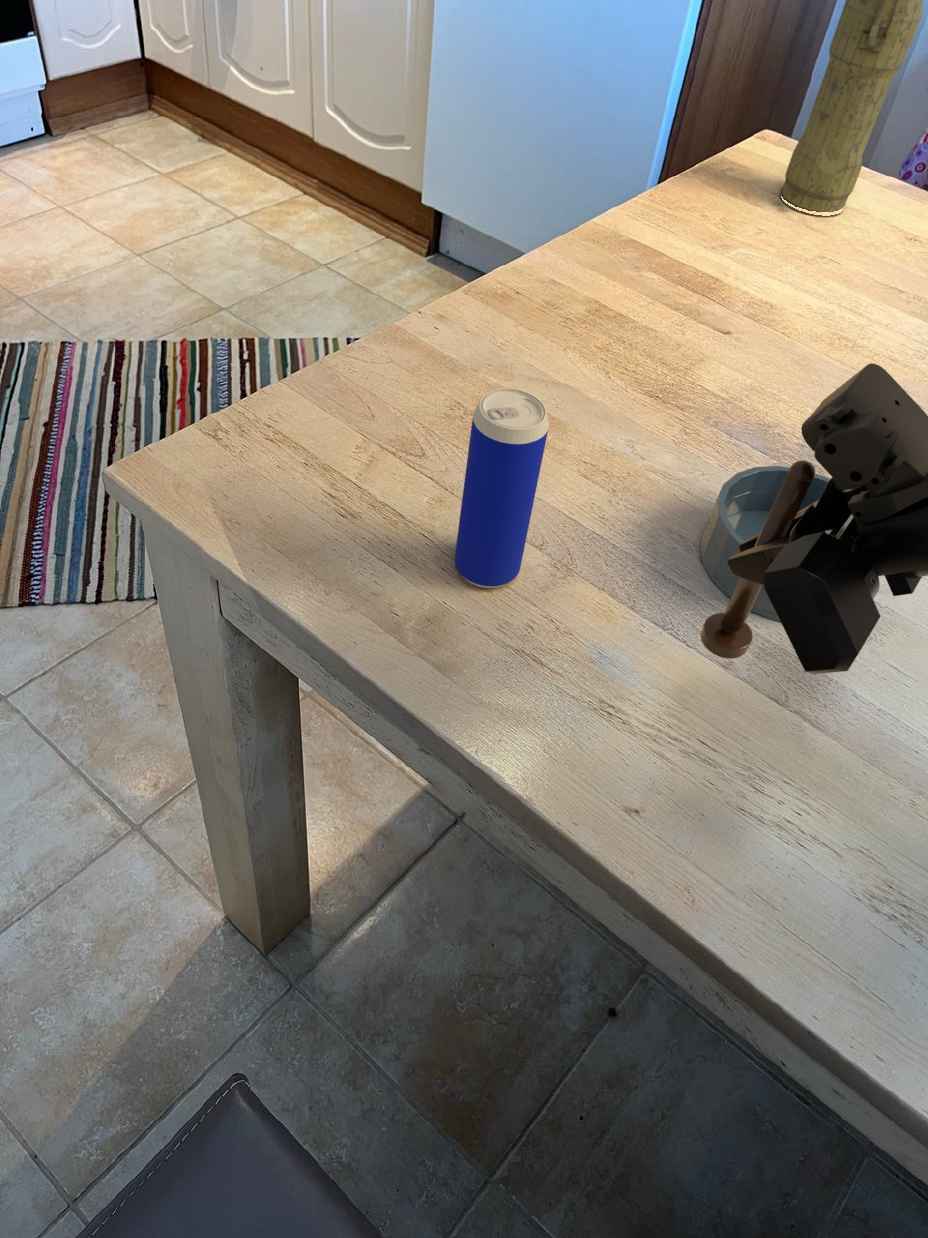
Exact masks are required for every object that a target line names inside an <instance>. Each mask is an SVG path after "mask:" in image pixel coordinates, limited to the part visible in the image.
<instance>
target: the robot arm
mask: <svg viewBox="0 0 928 1238" xmlns="http://www.w3.org/2000/svg"><path fill="white" fill-rule="evenodd" d="M800 430H801V431H800V432H801V436H802V439H803V440H804V442H805V443H806V445H807V446H808V447H809V448H810V449H811V450H812V452H813V453H814V454H813V455H814V459H815V461H816V462H817V463H818V464H819V465H820V466H821V467H822V468H823V469H824V470H825V471H826V472H827V473H828V475H830V476H831V477H830V478H829V479H830V480H829V482H828V483H827V485H826V487H825V489H824V491H823V493H822V495H821V497H820V499H819V500H818V501H816V502H814V503H813V504H811V505H809V506H807V507H806V508H804V509H802V510H800V511H799V512H798V513H797V515H796V517H795V519H794V521H793V523H792V525H791V527H790V529H789V531H788V533H787V535H786V536H784V537H781V538H778V539H775V540H773V541H770V542H767V543H765V544H762V545H759V546H756V547H754V546H755V544H756V542H757V540H758V537H759V535H760V533H761V532H760V533H758V534H757V535H755V536H753V537H751V538H749V539H747V540H746V541H744V542H742V543H741V545H740V546H739V550H740V552H741V553H739V554H736V555H734V556H732V557H730V558H729V559H728V561H727V564H728V566H729V568H730V570H731V572H732V573H733V574H734V575H735V576H738V577H741V578H744V579H747V580H750V581H753V582H756V583H759V584H762V585H764V589H765V591H766V593H767V595H768V597H769V599H770V601H771V603H772V605H773V607H774V609H775V611H776V613H777V615H778V617H779V619H780V621H779V622H780V623H781V625H782V627H783V630H784V632H785V634H786V636H787V638H788V640H789V641H790V644H791V645H792V646H791V647H792V648H793V650H794V652H795V654H796V656H797V658H798V660H799V663H800V664H801V666H802V668H803V671H804V672H805V673H809V674H813V675H821V674H830V673H841V672H842V673H843V672H849V670H850V668H851V666H852V665H853V663H854V662H855V660H856V659H857V657H858V655H859V654H860V653H861V651H862V648H864V645H865V644H866V642H867V640H868V639H869V637H870V635H871V633H872V632H873V630H874V628H875V627H876V625H877V624H878V622H879V620H880V618H881V614H880V611H879V609H878V607H877V605H876V603H875V601H874V599H875V597H876V596H877V594H878V593H879V590H880V587H881V586H880V582H881V581H880V578H879V577H884V578H885V580H886V582H887V584H888V587H889V589H890V591H891V594H892V596H893V597H898V596H904V595H912V594H914V592H915V591H916V588H917V586H918V584H919V583H920V581H921V579H922V578H923V577H927V576H928V414H927V413H926V412H925V411H924V410H923V409H922V407H921V406H920V405H919V404H918V403H917V402H916V401H915V399H913V398H912V397H911V396H910V394H909V393H908V392H907V391H906V390H905V389H904V388H903V387H902V386H901V385H900V384H899V383H898V382H897V381H896V380H895V378H894V377H892V375H891V374H890V373H889V372H888V371H887V370H886V369H885V368H884V367H882V366H881V365H879V364H876V363H868V364H867V365H865V366H864V367H863V368H861V369H860V370H859V371H858V372H856V373H855V374H854V375H852V376H851V377H850V378H848V380H846V381H845V382H844V383H843V384H842V385H840V386H839V387H838V388H836V389H835V390H833V392H831V393H830V394H828V395H827V397H825V398H824V399H823V400H822V401H821V402H820V404H819V405H818V406H817V407H816V408H815V410H814V411H813V412H812V413H811V415H809V417H808V418H806V419H805V420H804V422H803V423H802V424H801V429H800Z"/></svg>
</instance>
